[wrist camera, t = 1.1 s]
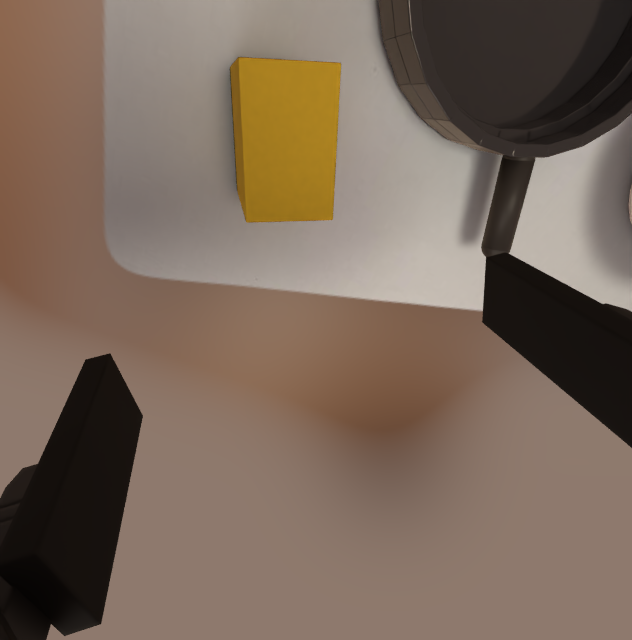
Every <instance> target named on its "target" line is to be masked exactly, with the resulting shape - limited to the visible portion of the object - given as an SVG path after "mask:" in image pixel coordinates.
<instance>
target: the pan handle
mask: <svg viewBox="0 0 632 640" xmlns="http://www.w3.org/2000/svg"><path fill="white" fill-rule="evenodd" d="M534 162H535V157H508V156H503V157H502V161H501V165H500V169H499V173H498V178H497V182H496V186H495V190H494V194H493V199H492V203H491V207H490V211H489V216H488V220H487V224H486V228H485V233H484V237H483V241H482V246H481V248H482V252H483V254H484V255H485V256H486V257H489V256H493V255H497V254H501V253H505V252H506V253H508V254H509V252H510V250H511V246H512V243H513V239H514V235H515V232H516V228H517V224H518V221H519V217H520V213H521V210H522V206H523V202H524V199H525V195H526V191H527V188H528V184H529V180H530V177H531V173H532V169H533V166H534Z"/></svg>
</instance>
